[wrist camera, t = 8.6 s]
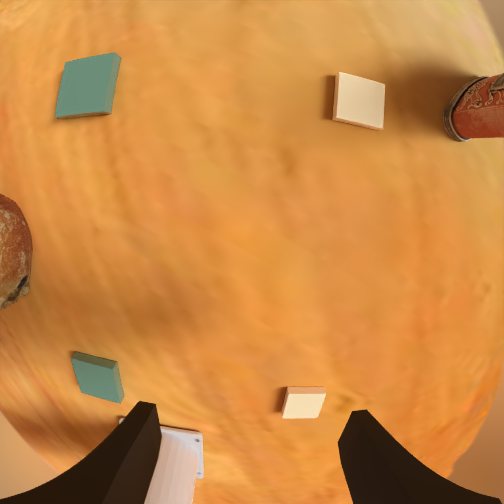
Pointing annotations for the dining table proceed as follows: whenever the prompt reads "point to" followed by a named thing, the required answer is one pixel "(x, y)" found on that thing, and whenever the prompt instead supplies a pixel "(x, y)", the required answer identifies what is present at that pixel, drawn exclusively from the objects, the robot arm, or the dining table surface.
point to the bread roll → (13, 253)
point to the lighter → (476, 110)
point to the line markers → (100, 102)
